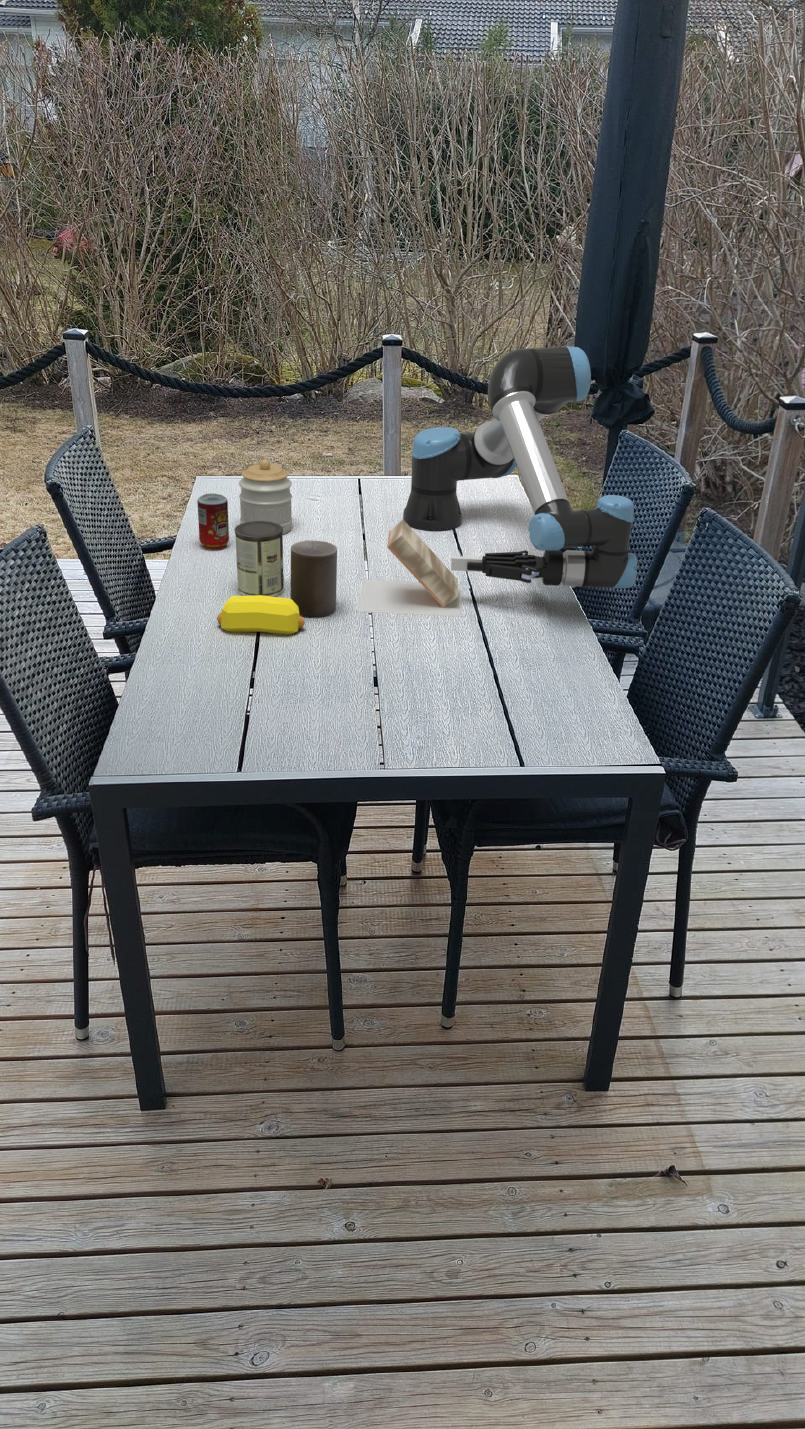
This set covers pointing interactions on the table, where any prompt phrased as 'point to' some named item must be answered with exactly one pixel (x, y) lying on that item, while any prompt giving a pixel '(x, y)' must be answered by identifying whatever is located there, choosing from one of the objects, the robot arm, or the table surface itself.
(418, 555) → the birch board
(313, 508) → the table surface
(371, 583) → the rubber mat
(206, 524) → the soda can
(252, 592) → the coffee can
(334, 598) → the pillar candle
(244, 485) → the jar
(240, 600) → the hot dog
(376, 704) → the table surface
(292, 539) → the table surface
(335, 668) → the table surface
